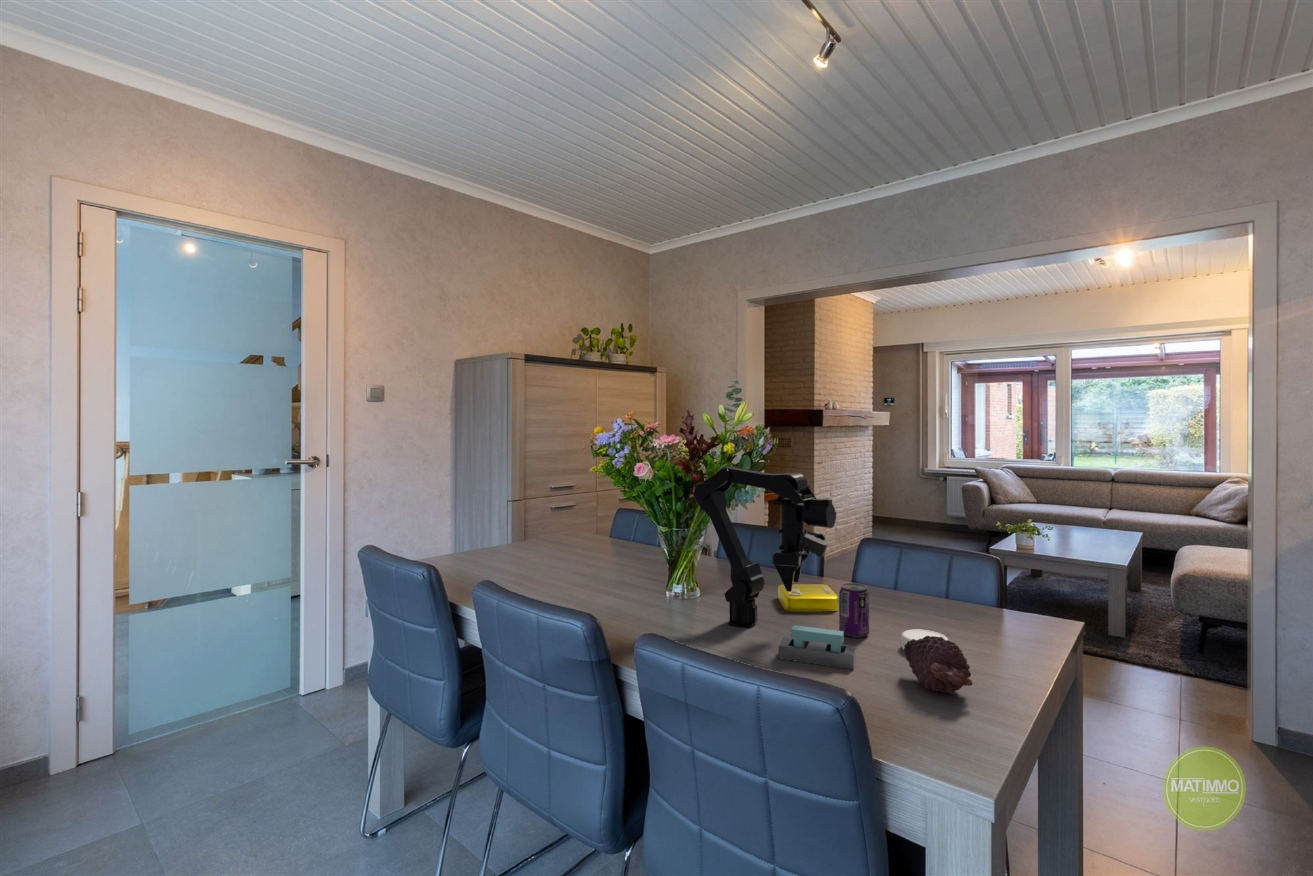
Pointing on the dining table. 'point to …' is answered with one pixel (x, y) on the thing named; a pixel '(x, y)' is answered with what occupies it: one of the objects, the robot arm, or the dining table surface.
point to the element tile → (808, 598)
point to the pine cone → (938, 664)
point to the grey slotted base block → (818, 653)
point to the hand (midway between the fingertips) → (792, 586)
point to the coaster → (918, 635)
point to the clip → (817, 636)
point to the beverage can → (854, 609)
